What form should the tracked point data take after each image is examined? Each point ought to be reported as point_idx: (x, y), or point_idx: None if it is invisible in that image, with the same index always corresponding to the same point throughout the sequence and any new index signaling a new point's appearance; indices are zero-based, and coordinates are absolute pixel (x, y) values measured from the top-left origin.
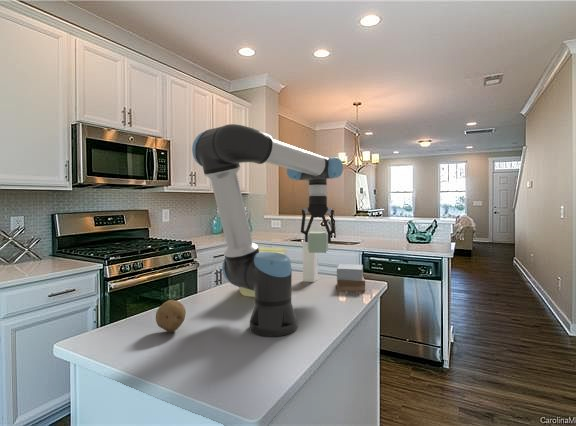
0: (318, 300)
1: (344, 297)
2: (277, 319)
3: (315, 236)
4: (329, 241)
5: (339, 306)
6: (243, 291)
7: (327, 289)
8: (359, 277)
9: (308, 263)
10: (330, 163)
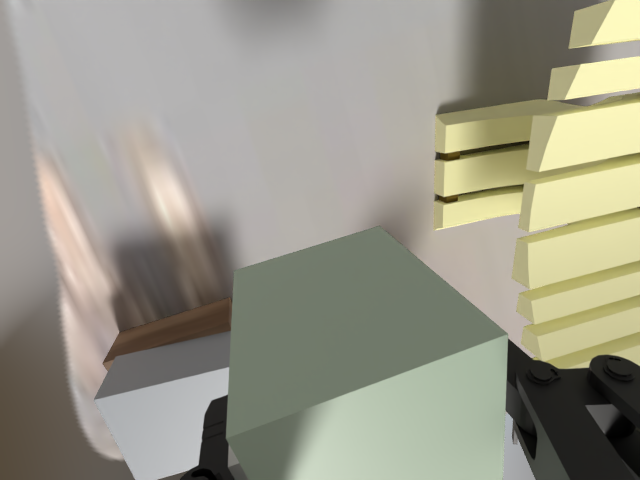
0: (257, 137)
1: (167, 219)
2: None
3: (385, 333)
4: (220, 404)
5: (134, 76)
6: (560, 106)
7: None
8: (122, 364)
9: None
10: None
